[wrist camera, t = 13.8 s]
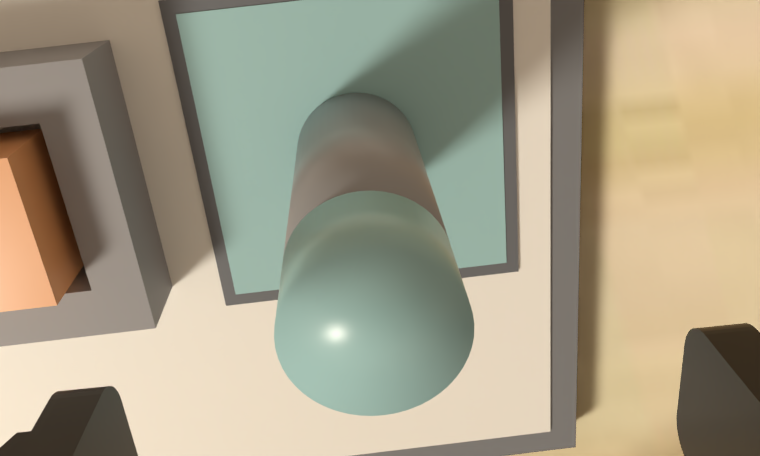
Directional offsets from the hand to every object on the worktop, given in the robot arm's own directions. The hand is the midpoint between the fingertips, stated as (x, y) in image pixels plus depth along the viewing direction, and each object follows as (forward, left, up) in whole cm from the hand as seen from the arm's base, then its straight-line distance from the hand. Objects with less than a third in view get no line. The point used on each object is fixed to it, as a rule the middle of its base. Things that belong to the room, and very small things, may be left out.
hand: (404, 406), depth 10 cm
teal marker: (0, +1, -13) cm, 13 cm away
